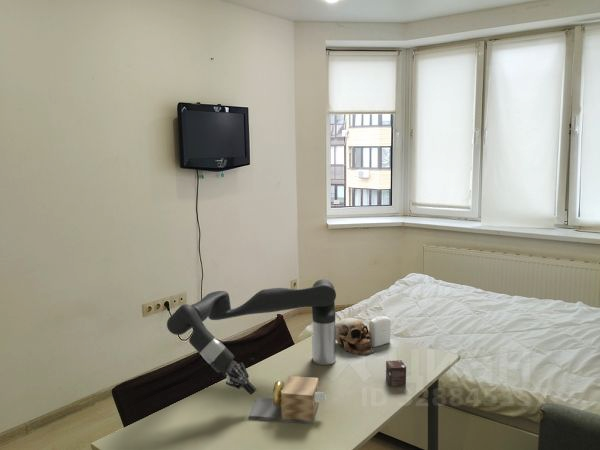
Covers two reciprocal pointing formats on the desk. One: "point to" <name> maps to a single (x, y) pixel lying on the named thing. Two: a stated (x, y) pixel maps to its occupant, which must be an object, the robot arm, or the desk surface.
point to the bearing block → (290, 402)
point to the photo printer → (379, 331)
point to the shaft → (278, 390)
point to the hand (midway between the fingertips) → (253, 392)
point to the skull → (353, 336)
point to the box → (396, 373)
